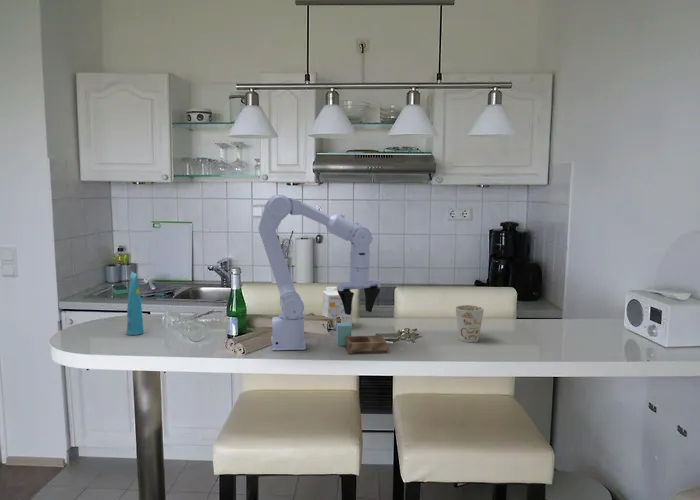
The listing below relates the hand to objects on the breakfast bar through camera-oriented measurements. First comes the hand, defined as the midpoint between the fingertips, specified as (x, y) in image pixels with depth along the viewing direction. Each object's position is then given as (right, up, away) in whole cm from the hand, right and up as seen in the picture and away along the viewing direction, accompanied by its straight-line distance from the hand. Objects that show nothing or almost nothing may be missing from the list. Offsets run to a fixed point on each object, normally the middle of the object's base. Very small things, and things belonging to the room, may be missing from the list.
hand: (358, 312), depth 156 cm
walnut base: (+2, -10, -5) cm, 11 cm away
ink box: (-7, -7, +21) cm, 23 cm away
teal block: (-4, -9, +1) cm, 10 cm away
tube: (-70, -8, +9) cm, 71 cm away
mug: (+35, -9, +9) cm, 38 cm away
